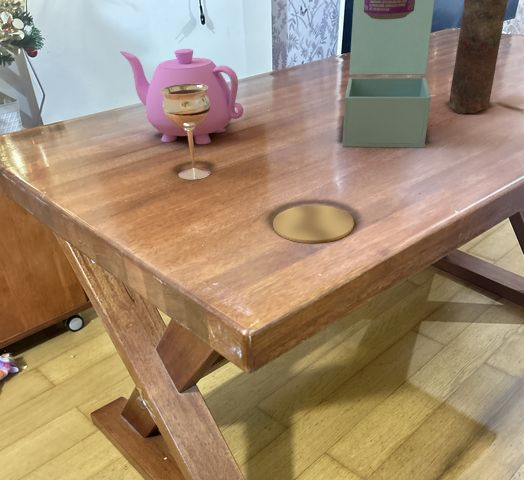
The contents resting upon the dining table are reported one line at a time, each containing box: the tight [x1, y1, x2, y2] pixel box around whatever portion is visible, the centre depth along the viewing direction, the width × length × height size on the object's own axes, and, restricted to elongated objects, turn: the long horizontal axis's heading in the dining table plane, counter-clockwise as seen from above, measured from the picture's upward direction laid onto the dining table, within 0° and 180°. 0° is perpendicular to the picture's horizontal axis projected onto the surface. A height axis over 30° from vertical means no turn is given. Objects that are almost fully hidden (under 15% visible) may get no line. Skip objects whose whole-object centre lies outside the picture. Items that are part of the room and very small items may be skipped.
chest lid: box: [348, 0, 435, 76], centre depth 94 cm, size 15×13×4 cm
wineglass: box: [161, 83, 212, 181], centre depth 79 cm, size 7×7×12 cm
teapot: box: [119, 48, 244, 145], centre depth 94 cm, size 22×16×14 cm
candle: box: [448, 0, 509, 115], centre depth 98 cm, size 8×7×20 cm
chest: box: [342, 76, 432, 149], centre depth 92 cm, size 14×13×8 cm
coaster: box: [272, 204, 355, 244], centre depth 67 cm, size 10×10×1 cm
